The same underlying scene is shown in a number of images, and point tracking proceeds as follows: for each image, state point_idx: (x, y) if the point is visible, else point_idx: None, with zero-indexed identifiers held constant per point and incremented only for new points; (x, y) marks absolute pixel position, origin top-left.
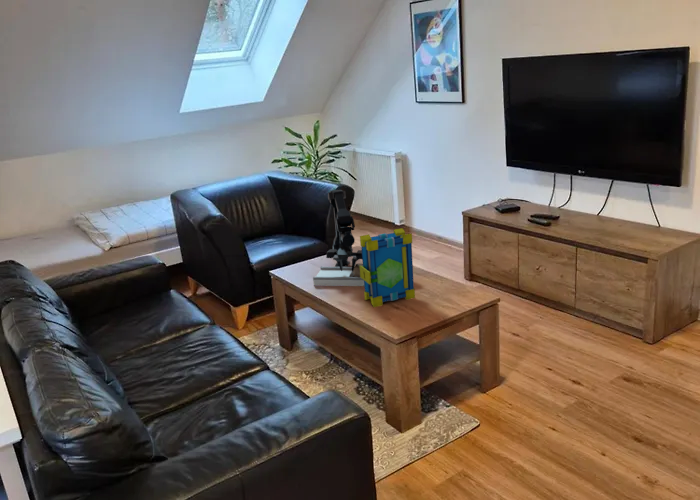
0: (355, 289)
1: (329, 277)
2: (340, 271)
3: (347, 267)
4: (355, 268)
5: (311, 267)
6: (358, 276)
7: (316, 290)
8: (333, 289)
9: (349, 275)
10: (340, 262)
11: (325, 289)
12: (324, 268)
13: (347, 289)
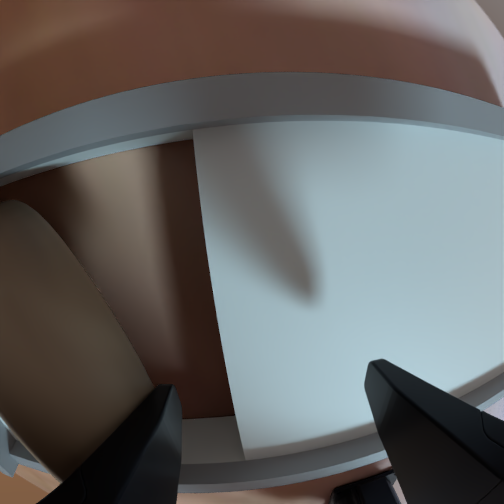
0: (70, 43)
1: (481, 104)
2: None
3: (312, 471)
4: (10, 367)
5: (495, 408)
6: (1, 211)
7: (462, 20)
8: (333, 6)
9: (217, 317)
10: (470, 480)
11: (410, 20)
12: (496, 385)
13: (160, 15)
